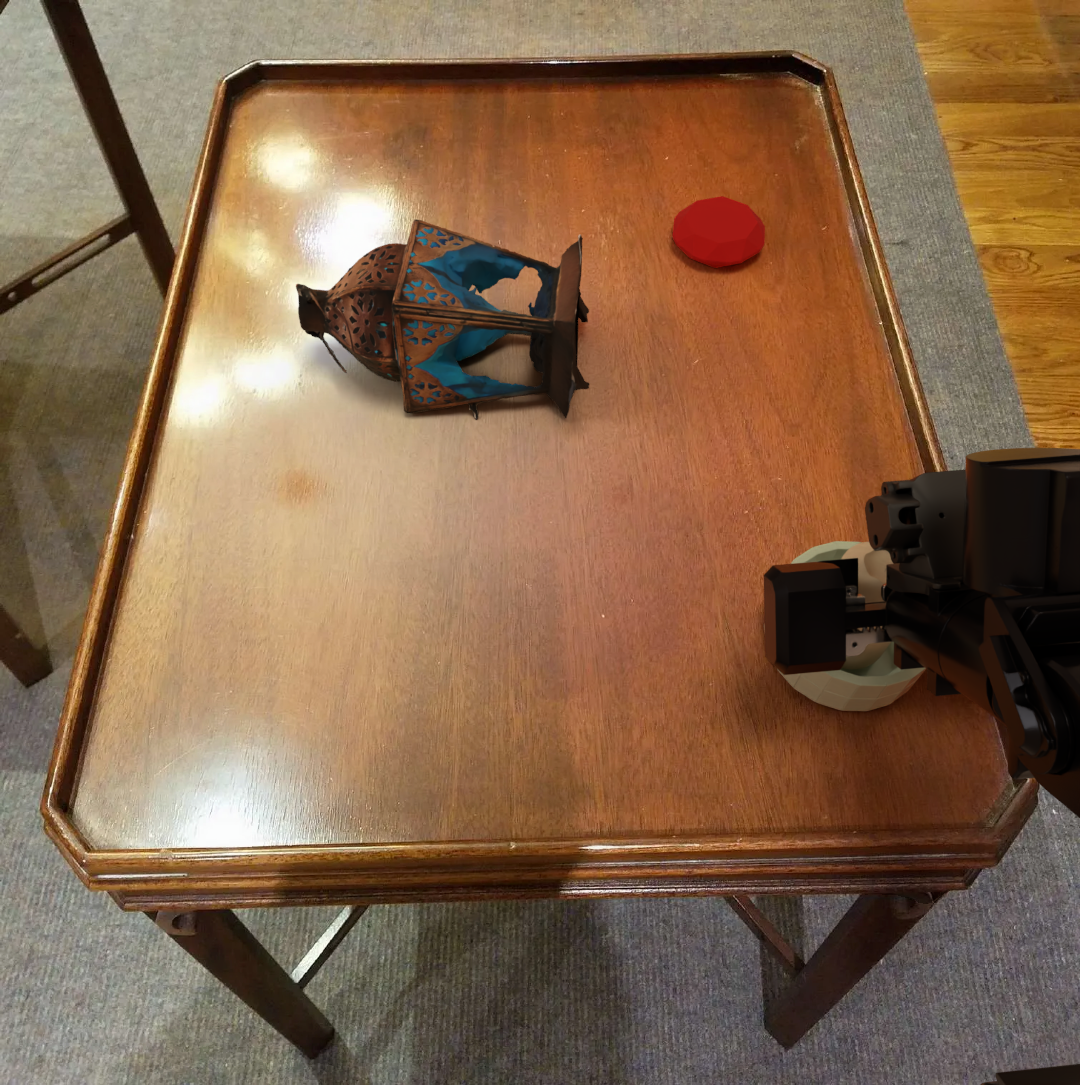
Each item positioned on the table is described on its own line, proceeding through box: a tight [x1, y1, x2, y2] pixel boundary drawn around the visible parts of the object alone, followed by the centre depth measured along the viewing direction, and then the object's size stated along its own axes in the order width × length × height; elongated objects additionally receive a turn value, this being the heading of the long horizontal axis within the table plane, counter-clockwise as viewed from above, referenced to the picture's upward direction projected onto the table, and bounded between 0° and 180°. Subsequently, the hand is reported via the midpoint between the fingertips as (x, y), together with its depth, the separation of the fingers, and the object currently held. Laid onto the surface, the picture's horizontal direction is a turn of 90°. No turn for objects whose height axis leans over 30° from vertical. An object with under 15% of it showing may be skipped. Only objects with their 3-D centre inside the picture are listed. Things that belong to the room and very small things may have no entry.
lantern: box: [295, 218, 590, 420], centre depth 78 cm, size 16×16×25 cm
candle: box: [841, 540, 899, 669], centre depth 63 cm, size 6×6×10 cm
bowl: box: [763, 540, 927, 712], centre depth 66 cm, size 11×11×5 cm
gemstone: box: [671, 195, 766, 269], centre depth 90 cm, size 9×9×3 cm
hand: (867, 573), depth 62 cm, fingers closed on candle, 5 cm apart
